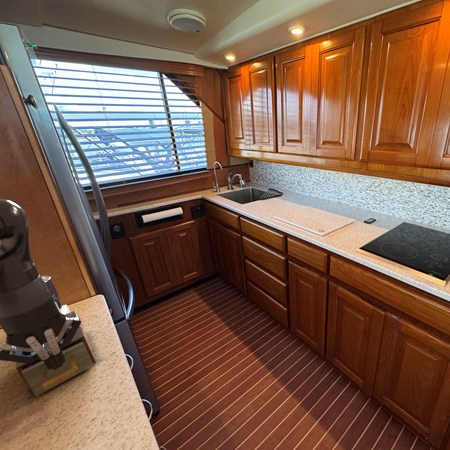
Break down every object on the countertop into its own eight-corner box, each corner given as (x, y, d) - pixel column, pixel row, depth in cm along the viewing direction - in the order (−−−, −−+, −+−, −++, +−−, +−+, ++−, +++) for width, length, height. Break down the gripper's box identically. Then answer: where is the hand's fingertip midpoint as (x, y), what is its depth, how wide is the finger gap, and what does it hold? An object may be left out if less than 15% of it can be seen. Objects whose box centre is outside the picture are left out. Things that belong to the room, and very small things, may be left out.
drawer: (97, 377, 56) (87, 355, 54) (37, 412, 49) (22, 389, 47) (84, 338, 67) (74, 318, 65) (33, 362, 60) (20, 341, 58)
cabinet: (96, 362, 61) (84, 335, 58) (33, 396, 53) (15, 367, 50) (85, 334, 70) (75, 310, 67) (30, 360, 62) (15, 334, 59)
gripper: (66, 280, 53) (92, 338, 60) (-30, 311, 44) (13, 377, 50) (71, 293, 49) (99, 355, 55) (-35, 332, 39) (13, 401, 46)
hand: (58, 365), depth 53 cm, fingers closed
